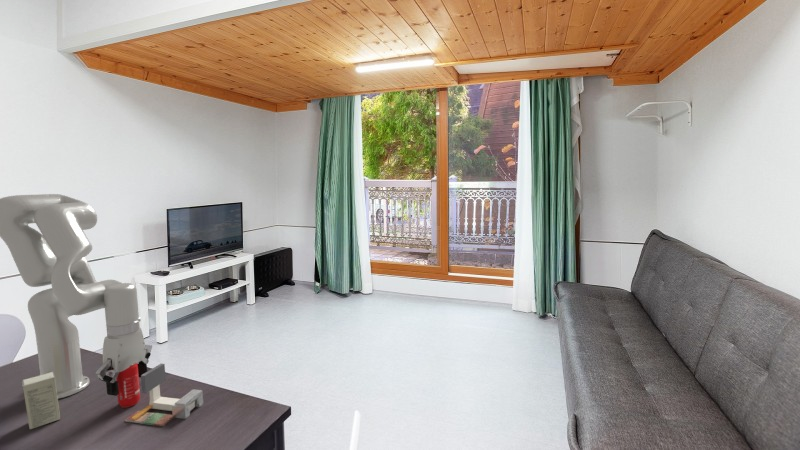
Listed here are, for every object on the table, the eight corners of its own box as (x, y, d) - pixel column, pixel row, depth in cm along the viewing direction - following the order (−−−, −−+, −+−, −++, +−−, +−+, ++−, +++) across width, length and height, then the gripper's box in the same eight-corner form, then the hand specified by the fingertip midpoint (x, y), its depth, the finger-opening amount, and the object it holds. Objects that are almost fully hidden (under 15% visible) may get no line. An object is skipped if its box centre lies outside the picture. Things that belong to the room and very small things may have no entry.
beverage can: (129, 409, 110) (126, 368, 108) (114, 407, 111) (110, 366, 109) (144, 399, 115) (141, 360, 113) (129, 397, 116) (126, 358, 114)
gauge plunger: (131, 421, 104) (128, 382, 103) (163, 398, 115) (160, 363, 113) (171, 426, 102) (168, 387, 101) (200, 402, 113) (197, 367, 111)
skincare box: (59, 412, 108) (54, 370, 107) (60, 419, 105) (56, 376, 104) (27, 423, 104) (22, 379, 102) (27, 430, 100) (22, 385, 99)
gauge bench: (124, 421, 104) (123, 406, 104) (157, 398, 115) (156, 385, 115) (174, 428, 102) (173, 412, 101) (203, 404, 112) (202, 390, 112)
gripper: (137, 316, 119) (141, 369, 121) (82, 339, 102) (88, 401, 104) (159, 318, 118) (163, 372, 120) (106, 341, 101) (112, 404, 103)
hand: (128, 385), depth 112 cm, fingers open, 9 cm apart
